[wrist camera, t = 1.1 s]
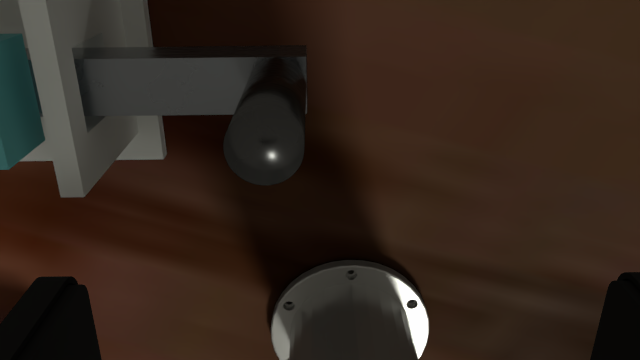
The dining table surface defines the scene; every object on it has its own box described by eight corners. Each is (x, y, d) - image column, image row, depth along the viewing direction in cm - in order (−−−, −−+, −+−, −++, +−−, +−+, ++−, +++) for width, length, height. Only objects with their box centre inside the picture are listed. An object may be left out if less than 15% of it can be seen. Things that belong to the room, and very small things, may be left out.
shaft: (307, 97, 33) (305, 184, 22) (-69, 102, 32) (-263, 192, 22) (306, 45, 31) (303, 109, 20) (-85, 49, 31) (-299, 116, 20)
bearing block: (166, 154, 40) (117, 230, 30) (-5, 156, 40) (-113, 234, 30) (139, -63, 34) (67, -59, 24) (-62, -62, 34) (-219, -56, 24)
